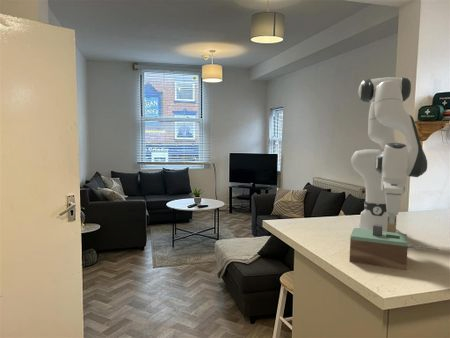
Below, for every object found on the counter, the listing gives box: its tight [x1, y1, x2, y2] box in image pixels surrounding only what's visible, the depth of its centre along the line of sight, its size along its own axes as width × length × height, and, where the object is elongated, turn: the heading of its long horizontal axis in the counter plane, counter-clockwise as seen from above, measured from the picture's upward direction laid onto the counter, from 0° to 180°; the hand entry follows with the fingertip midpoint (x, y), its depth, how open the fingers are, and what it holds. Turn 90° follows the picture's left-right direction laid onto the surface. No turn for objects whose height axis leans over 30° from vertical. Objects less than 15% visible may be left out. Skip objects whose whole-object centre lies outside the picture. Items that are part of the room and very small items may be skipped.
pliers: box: [408, 243, 439, 251], centre depth 144 cm, size 10×2×15 cm
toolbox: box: [349, 239, 409, 271], centre depth 127 cm, size 12×18×9 cm, turn 65°
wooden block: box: [387, 215, 397, 233], centre depth 136 cm, size 3×3×13 cm
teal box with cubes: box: [349, 224, 409, 247], centre depth 127 cm, size 12×18×6 cm, turn 65°
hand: (391, 222), depth 136 cm, fingers closed on wooden block, 3 cm apart
